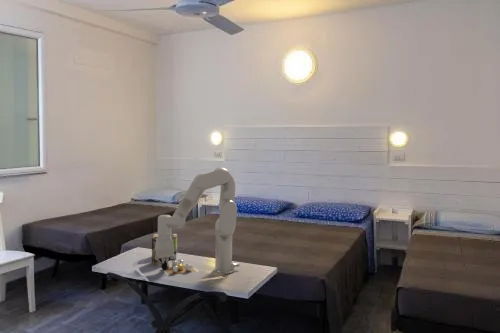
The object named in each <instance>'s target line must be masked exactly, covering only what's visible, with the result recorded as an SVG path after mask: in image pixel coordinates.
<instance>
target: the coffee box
mask: <svg viewBox="0 0 500 333" xmlns="http://www.w3.org/2000/svg"><path fill="white" fill-rule="evenodd" d="M157 239H158V238H152V237H151V263H152V264H153V265H154V266H157V267H161V261H159V260H155V244H156V240H157ZM164 261H165V258H164Z"/></svg>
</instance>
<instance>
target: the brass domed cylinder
mask: <svg viewBox="0 0 500 333" xmlns="http://www.w3.org/2000/svg"><path fill="white" fill-rule="evenodd" d="M175 265H178V271H182V270H183V264H178V263H177V264H175Z"/></svg>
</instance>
